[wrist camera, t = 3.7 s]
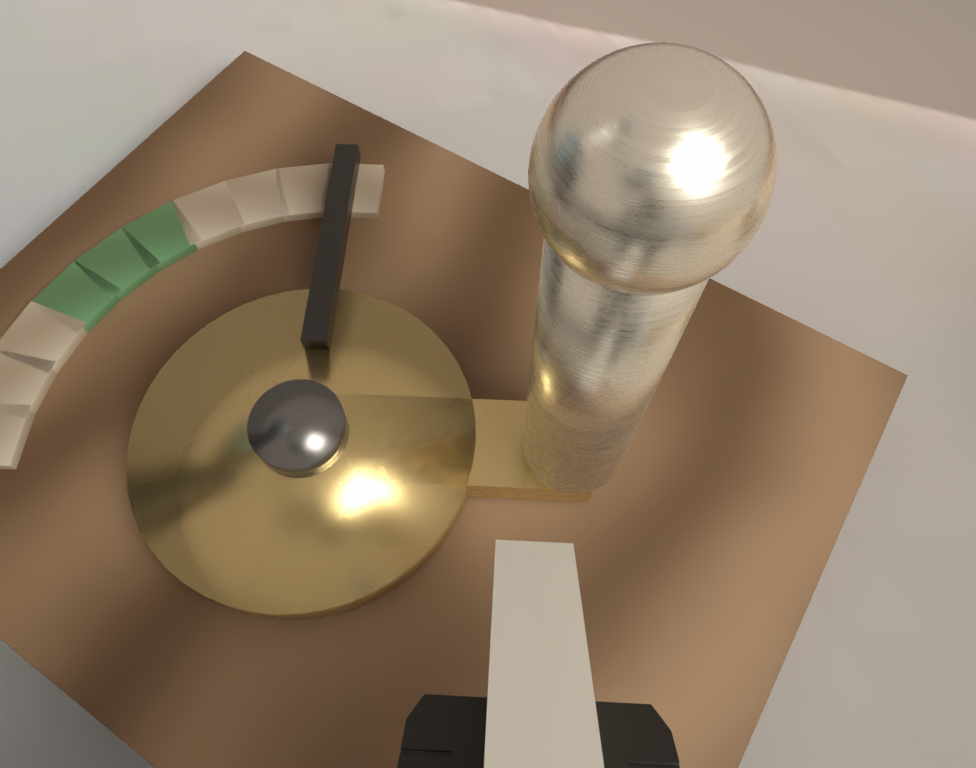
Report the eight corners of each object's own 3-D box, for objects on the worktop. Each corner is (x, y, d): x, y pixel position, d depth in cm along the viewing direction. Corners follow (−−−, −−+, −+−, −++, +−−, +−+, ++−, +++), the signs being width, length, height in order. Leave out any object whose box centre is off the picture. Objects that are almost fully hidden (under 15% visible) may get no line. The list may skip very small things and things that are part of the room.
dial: (56, 486, 19) (-564, 130, 8) (351, 170, 24) (225, -336, 13) (453, 778, 16) (365, 878, 5) (700, 351, 21) (947, -100, 10)
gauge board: (-170, 478, 21) (-224, 457, 20) (256, 83, 28) (242, 44, 27) (575, 1089, 15) (585, 1131, 14) (882, 397, 22) (913, 370, 21)
